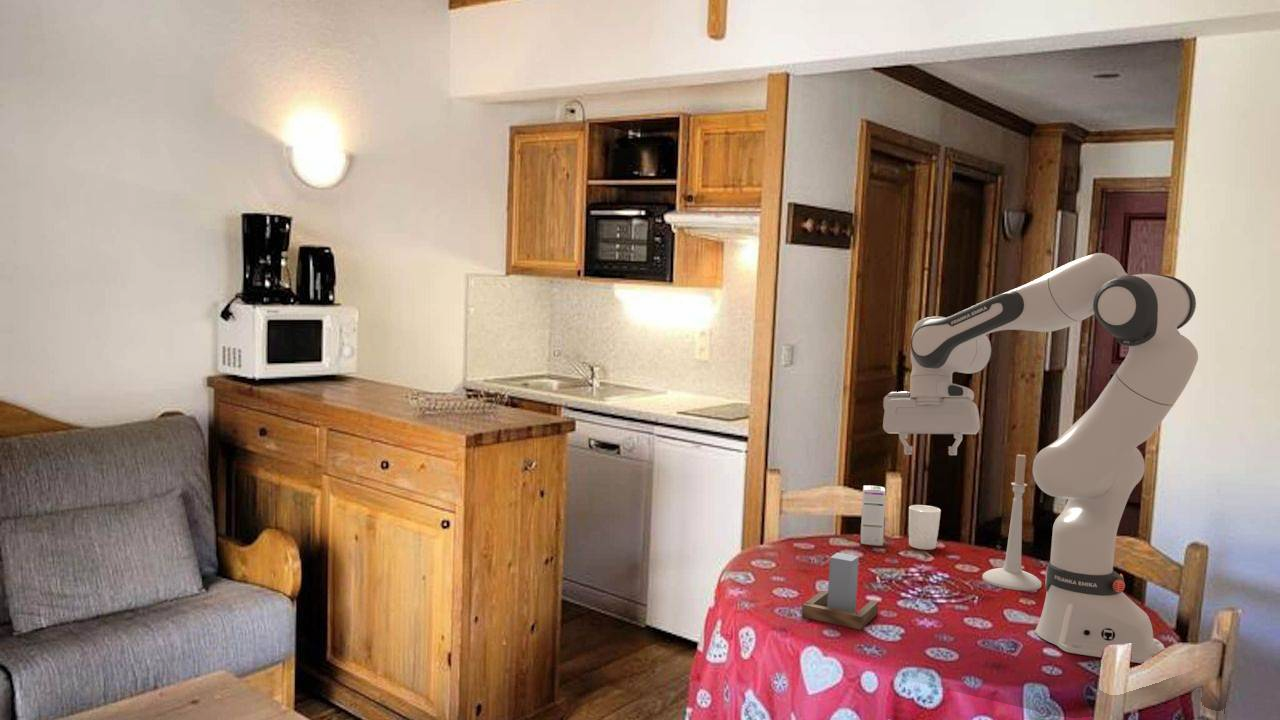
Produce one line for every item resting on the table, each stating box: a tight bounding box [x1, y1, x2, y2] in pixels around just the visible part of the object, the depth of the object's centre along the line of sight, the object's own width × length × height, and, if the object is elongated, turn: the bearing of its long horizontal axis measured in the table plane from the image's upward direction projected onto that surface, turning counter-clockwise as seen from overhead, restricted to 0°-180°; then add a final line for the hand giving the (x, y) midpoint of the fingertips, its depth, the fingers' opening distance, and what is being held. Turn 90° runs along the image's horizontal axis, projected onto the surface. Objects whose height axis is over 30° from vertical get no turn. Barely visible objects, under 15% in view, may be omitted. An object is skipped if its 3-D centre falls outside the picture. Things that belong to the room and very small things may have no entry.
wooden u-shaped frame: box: [801, 589, 879, 631], centre depth 198 cm, size 12×11×2 cm
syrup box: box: [860, 485, 886, 547], centre depth 256 cm, size 6×6×14 cm
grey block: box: [826, 552, 860, 613], centre depth 198 cm, size 4×4×12 cm
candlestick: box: [981, 453, 1043, 592], centre depth 225 cm, size 13×13×30 cm
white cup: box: [908, 504, 942, 551], centre depth 254 cm, size 8×8×10 cm
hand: (930, 454), depth 213 cm, fingers open, 8 cm apart
